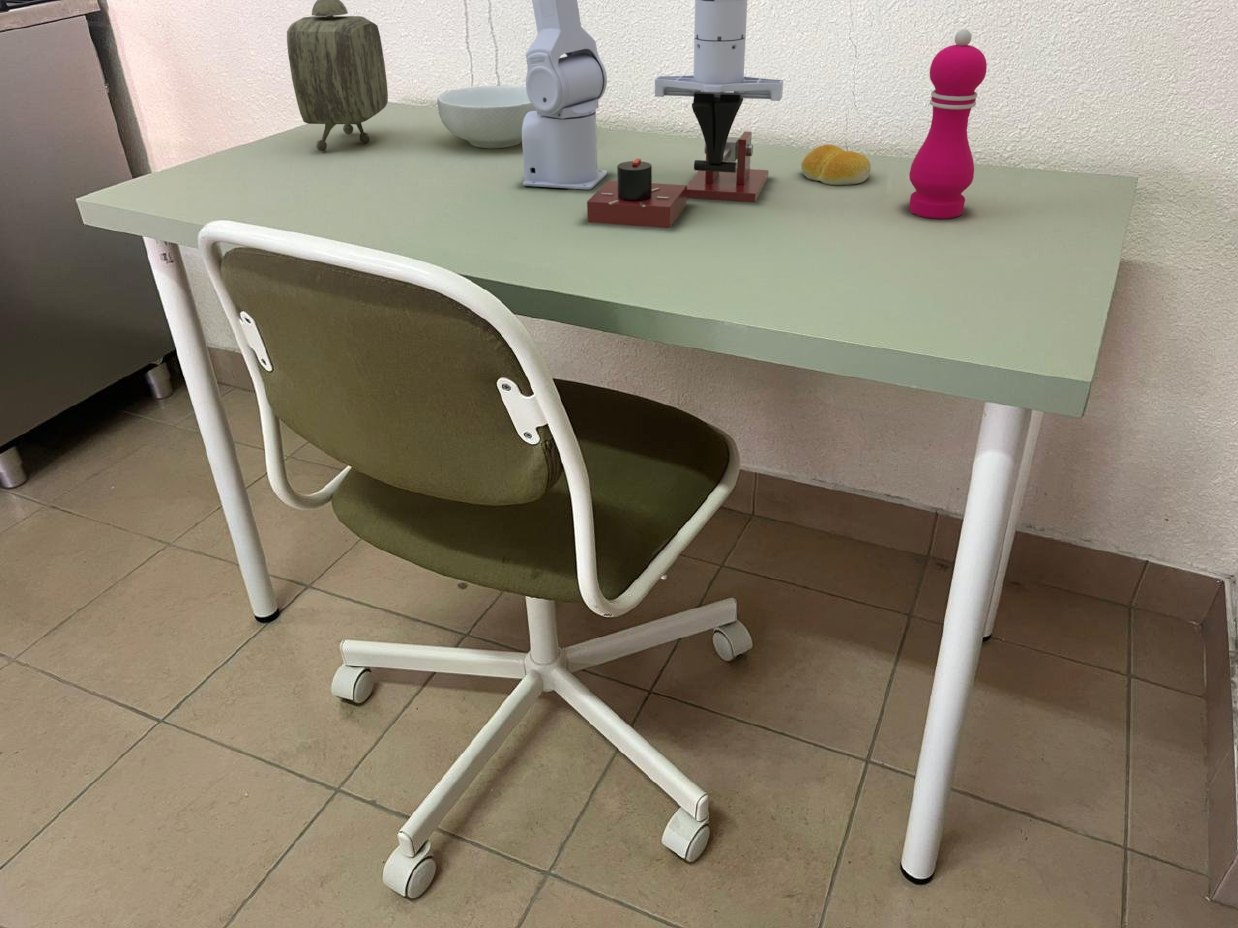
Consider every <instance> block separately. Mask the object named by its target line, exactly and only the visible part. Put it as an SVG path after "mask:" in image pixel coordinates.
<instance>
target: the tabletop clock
mask: <svg viewBox="0 0 1238 928" xmlns="http://www.w3.org/2000/svg"><path fill="white" fill-rule="evenodd" d="M348 13H349V11H348V9H347V7H346V6H345V4H344V2H343V1H341V0H316V1H315V2H314V3H313V5H312V9H311V16H305V17H302V18H299V19H298V20H296V21H294V22H293V23H291V24H290V25H289V27H288V29H287V31H286V44H287V45H286V46H287V55H288V62H289V68H290V75H291V81H292V85H293V89H294V95H295V99H296V103H297V107H298V110H299V113H300V116H301V119H302V122H303V123H305V124H308V125H324V129H323V134H322V138H321V139H319V140H318V139H317V141H316V143H315V148H316V149H317V150H318V151H319V152H325V151H326V150H327V148H328V143H327V142H326V140H327V138H328V136H329V135H330V132H331V130H332V129H333V128H334V127H335V126H336V125H343V127H342V131H343V133H344V134H346V135H351V134H353V132H354V126H353V125H356V127H357V129H358V132H359V133H360V134H359V135H358V136H359V137H358V139H359V142H360V143H361V144H368V143H369V142H370V140H371V139H370V138H371V137H370V135H369V134H368V133H367V132H365V131H364V128H363V125H362V123H365V122H367V121H368V120H369V119H372V118H373V117H375V116H376V115H378V114H379V113H380V112H381V111H383V110H384V109H385V108H386V107H387V104H388V102H389V96H388V95H389V90H388V81H387V73H386V64H385V57H384V51H383V44H382V38H381V34H380V30H379V27H378V25H377V24H376V23H375V22H373V21H371V20H369V18H366V17H365V16H361V15H348Z"/></svg>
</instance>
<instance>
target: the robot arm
mask: <svg viewBox="0 0 1238 928" xmlns="http://www.w3.org/2000/svg"><path fill="white" fill-rule="evenodd" d="M531 2H532V8H533V9H532V10H533V14H534V20H535V25H536V32H537V34H536V37H535V38H534V40H533V41H532V42H531V45H530V46H529V47H528V49H527V51H526V53H525V59H526V66H527V67H526V68H527V69H526V70H527V71H526V76H525V87H526V91H527V95H528V98H529V100H530V102H531V104H532V105H533V106H534V108H535V109H536V110H537V111H530V112H528V113H527V114H526V116H525V118H524V121H523V127H522V142H521V143H522V157H523V158H522V159H523V173H524V180H523V181H522V185H523V186H525V187H539V188H540V187H542V188H553V189H554V188H555V189H572V190H584V191H585V190H586V191H587V190H589V191H590V190H593V188H594V187H595V186H596V185H597V184H599V182H600V181H602V180H603V179H604V178H605V177H606V176H607V175H608V171H607V170H605V169H604V170H603V169H598V138H597V112H596V111H597V109H599V100H601V98H602V97H603V96H604V94H605V92H606V91H607V90H606V89H607V85H608V75H607V71H606V68H605V65H604V63H603V62H602V59H601V58H600V55H599V53H598V48H597V42H596V40H595V39H594V38H593V37H592V36H591V35H590V34H589V33H588V32H587V31H586V30H585V29H584V27H582V23H581V17H580V16H581V15H580V10H579V3H578V0H531ZM747 19H748V0H694V31H693V32H694V35H693V36H694V38H693V74H692V75H658V76H657V77H656V78H655V79H654V97H657V98H658V97H659V98H662V97H665V96H667V97H670V96H671V97H693V101H692V103H691V110H692V112H693V114H694V115H695V118H696V120H697V122H698V126H699V127H700V131H701V133H702V136H703V139H704V142H705V143H704V145H705V144H706V148H707V153H708V162H709V163H714V164H720V163H721V162H722V160H723V156H724V150H725V145H726V142H727V138H728V137H729V135H730V132H731V128H732V127H733V123H734V121H735V119H736V117H737V114H738V112H739V110H740V109H741V106H742V104H743V102H744V99H747V100H748V99H752V100H770V101H772V102H780V101H781V100H782V98H783V93H784V92H783V91H784V79H773V78H772V79H771V78H764V77H754V76H745V62H746V61H745V59H746V39H747V21H748V20H747ZM562 55H563V56H562ZM564 55H565V56H564ZM561 56H562V57H561Z"/></svg>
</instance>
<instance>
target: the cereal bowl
mask: <svg viewBox="0 0 1238 928" xmlns="http://www.w3.org/2000/svg"><path fill="white" fill-rule="evenodd" d="M436 101H437V109H438V114H439V118H440V121H441V123H442V124H443V126H444V127H445V128H446V130H447V131H448V132H449V133H451V134H452V135H453V136H454V137H455V136H456V137H457V138H459V139H462V140H464V141H467V142H468V143H469V144H470V146H473V147H476V148H480V149H482V148H483V149H502V148H510V147H514V146H517V145H519V144H521V143H522V127H523V121H524V118H525V116H526V114H527V113H528V112H530V111H537V110H536V109H535V108H534V106H533V105H532V104H531V102H530V100H529V98H528V95H527V91H526V86H521V85H520V86H519V85H479V86H468V87H459V88H455V89H454V88H453V89H450V90H446V91H443V92H442V93H441V92H440V94H438V96H437V100H436Z"/></svg>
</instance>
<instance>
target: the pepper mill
mask: <svg viewBox="0 0 1238 928" xmlns="http://www.w3.org/2000/svg"><path fill="white" fill-rule="evenodd" d="M972 38H973V35H972V32H971V31H970V30H968V29H960V30H958V31H957V32H956V33H955V35H954V43H955V44H952V45H949V46H946V47H944V48H942V49H941V50H939V52H937V53H936V55H935V56H934V57H933V59H932V61H931V64H930V67H929V79H930V82H931V83H932V85H933V87H934V90H932V91H931V92H930V96H931V97H930V98H931V99H930V100H929V105H930V106H932V118H931V122H930V127H929V130H928V133H927V135H926V137H925V139H924V141H923V143H922V144H921V146H920V147H919V149H918V150H917V152H916V154H915V156H914V159H913V161H912V162H911V165H910V169H909V170H910V171H909V175H908V177H909V181H910V183H911V185H912V186H913V187H914V189H915V191H914V192H912V193H911V194H910V196H909V197H910V198H909V202H908V203H909V204H908V210H909V211H910V213H911V214H913V215H916V216H918V217H923V218H928V219H937V220H939V219H940V220H944V219H945V220H946V219H953V218H958V217H960V216H962V215H963V213H964V208H965V204H966V197H965V196H964V195H963V193H964V192H965V191H966V190H967V189H968V188H969V187H970V186H971V184H973V181H974V177H975V163H974V158H973V153H972V150H971V147H970V143H969V138H968V124H969V118H970V114H971V111H972V109H973V108H974V107H976V106H977V97H978V95H979V94H978V92H977V91H976V89H977V88H978V87H979V86H980V85H981V84H982V83H983V81H984V80H985V79H986V76H987V70H988V69H987V68H988V67H987V66H988V64H987V59H986V57H985V54H984V53H983V52H982V51H981V50H980V49H979V48H978V47H975V46H973V45H970V43H971V41H972Z"/></svg>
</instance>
